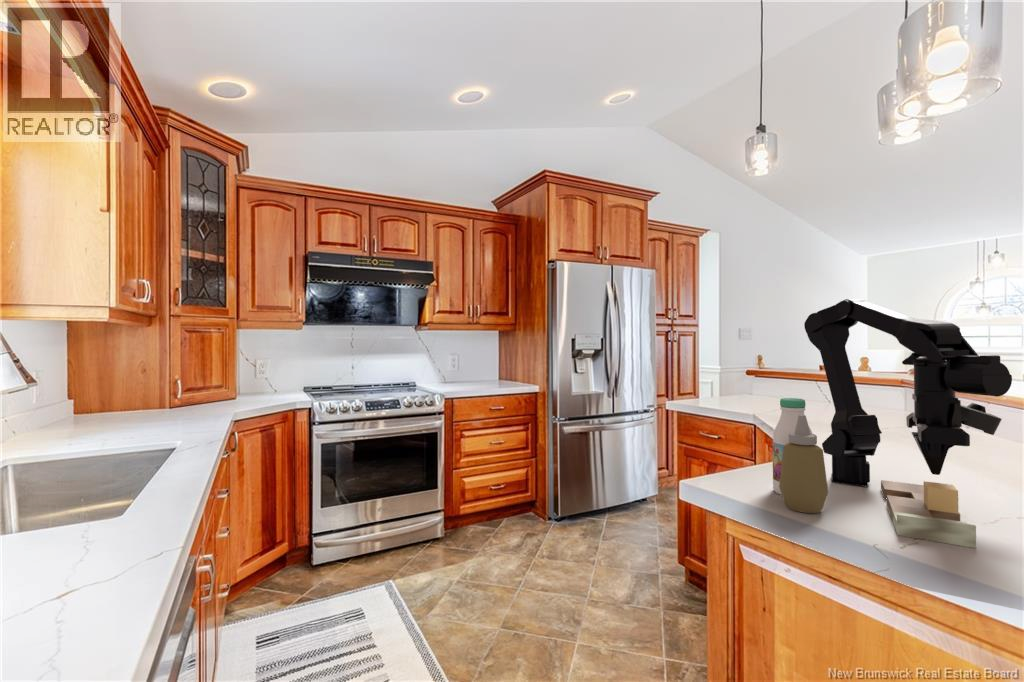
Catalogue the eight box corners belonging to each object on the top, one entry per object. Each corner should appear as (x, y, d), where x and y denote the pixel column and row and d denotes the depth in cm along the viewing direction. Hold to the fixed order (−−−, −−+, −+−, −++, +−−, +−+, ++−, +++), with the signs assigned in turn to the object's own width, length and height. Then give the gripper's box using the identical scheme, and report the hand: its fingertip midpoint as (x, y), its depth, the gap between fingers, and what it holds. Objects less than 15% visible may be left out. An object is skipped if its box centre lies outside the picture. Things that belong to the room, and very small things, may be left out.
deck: (897, 534, 78) (897, 514, 78) (881, 489, 101) (880, 473, 101) (976, 548, 73) (976, 526, 73) (940, 496, 96) (940, 480, 96)
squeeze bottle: (805, 518, 86) (804, 420, 86) (769, 504, 94) (768, 413, 93) (839, 513, 88) (838, 417, 88) (801, 499, 96) (800, 411, 96)
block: (927, 509, 84) (927, 487, 84) (923, 502, 87) (923, 481, 87) (958, 513, 82) (958, 490, 82) (952, 506, 85) (952, 484, 85)
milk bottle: (808, 488, 102) (807, 396, 102) (821, 501, 95) (820, 401, 95) (768, 486, 104) (767, 396, 104) (778, 498, 97) (777, 401, 97)
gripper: (1012, 398, 75) (1014, 496, 75) (980, 387, 91) (981, 468, 91) (921, 395, 81) (922, 485, 81) (905, 384, 97) (906, 460, 97)
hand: (935, 474), depth 87 cm, fingers closed
